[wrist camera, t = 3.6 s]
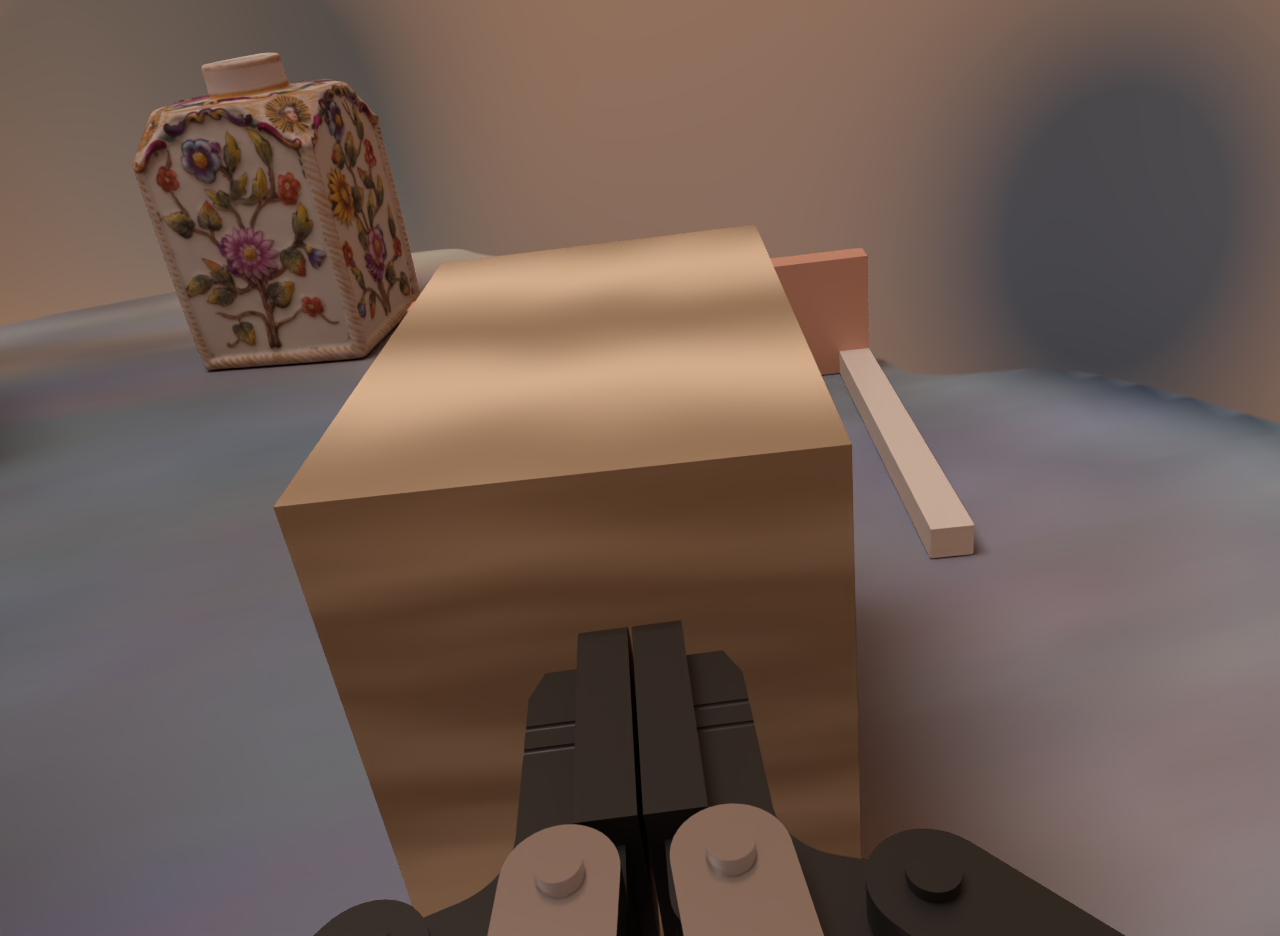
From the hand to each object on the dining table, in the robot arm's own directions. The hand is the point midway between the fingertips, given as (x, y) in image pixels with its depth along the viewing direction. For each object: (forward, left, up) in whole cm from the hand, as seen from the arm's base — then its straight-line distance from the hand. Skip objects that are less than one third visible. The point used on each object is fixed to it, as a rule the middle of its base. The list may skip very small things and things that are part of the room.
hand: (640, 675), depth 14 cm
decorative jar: (+52, +24, -11) cm, 58 cm away
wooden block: (+9, +1, -11) cm, 14 cm away
